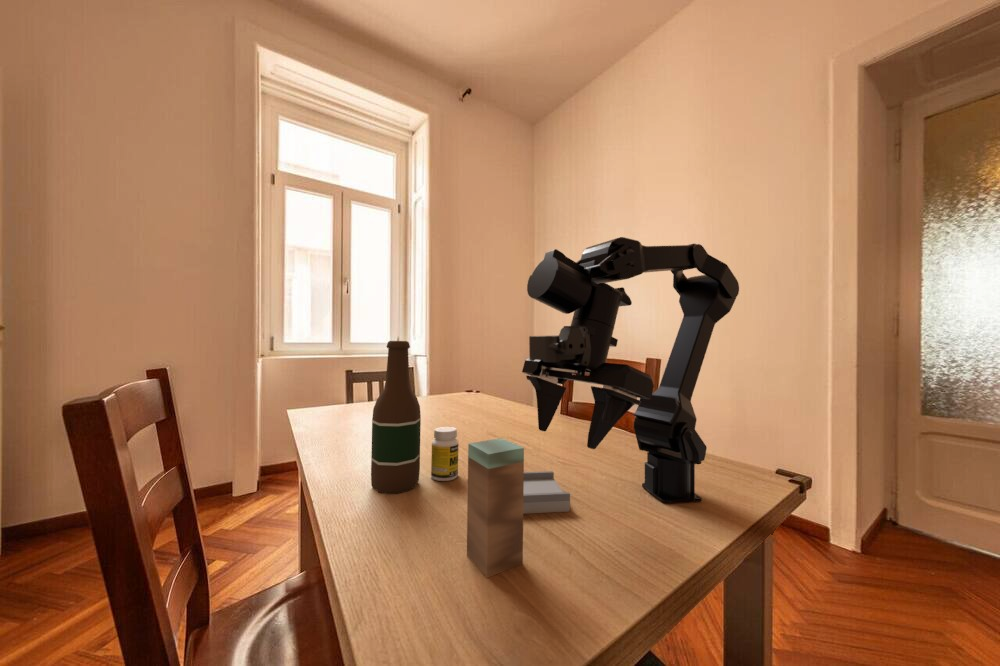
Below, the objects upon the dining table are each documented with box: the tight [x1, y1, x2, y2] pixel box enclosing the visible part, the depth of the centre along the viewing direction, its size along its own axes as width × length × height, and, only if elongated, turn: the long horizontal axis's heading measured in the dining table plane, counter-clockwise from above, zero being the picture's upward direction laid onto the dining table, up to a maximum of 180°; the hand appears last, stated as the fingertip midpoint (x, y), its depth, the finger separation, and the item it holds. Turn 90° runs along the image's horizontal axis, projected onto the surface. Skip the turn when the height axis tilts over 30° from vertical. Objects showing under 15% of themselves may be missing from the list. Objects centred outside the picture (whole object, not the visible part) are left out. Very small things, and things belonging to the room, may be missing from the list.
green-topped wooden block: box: [466, 437, 525, 579], centre depth 40 cm, size 4×4×12 cm
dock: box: [523, 470, 571, 515], centre depth 55 cm, size 12×9×2 cm
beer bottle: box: [370, 340, 422, 495], centre depth 60 cm, size 8×8×24 cm
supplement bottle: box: [430, 426, 460, 482], centre depth 64 cm, size 5×5×8 cm
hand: (564, 438), depth 47 cm, fingers open, 9 cm apart
